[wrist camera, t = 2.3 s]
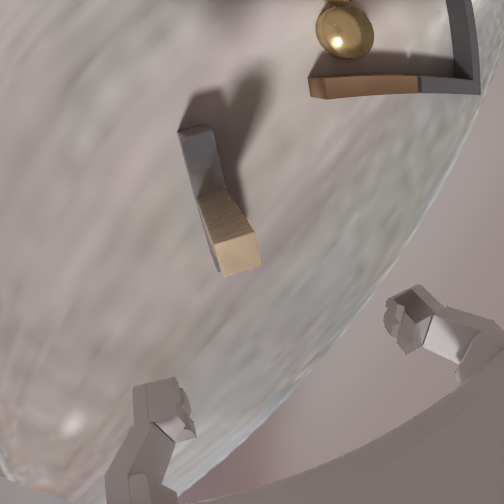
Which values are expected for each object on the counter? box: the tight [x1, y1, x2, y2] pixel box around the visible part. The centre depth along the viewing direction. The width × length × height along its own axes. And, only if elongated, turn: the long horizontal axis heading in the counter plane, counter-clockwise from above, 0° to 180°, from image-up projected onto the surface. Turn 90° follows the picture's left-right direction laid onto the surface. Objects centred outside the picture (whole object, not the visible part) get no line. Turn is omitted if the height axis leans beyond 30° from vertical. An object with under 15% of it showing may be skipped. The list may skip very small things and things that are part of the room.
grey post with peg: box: [177, 124, 261, 278], centre depth 18 cm, size 10×2×9 cm, turn 10°
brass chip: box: [316, 5, 374, 58], centre depth 17 cm, size 4×4×2 cm
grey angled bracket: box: [405, 0, 481, 95], centre depth 17 cm, size 15×10×2 cm, turn 10°
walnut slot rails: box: [308, 74, 418, 100], centre depth 16 cm, size 15×9×2 cm, turn 10°
